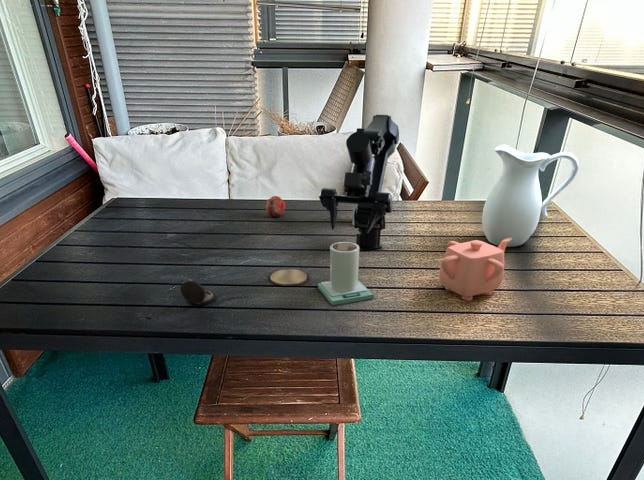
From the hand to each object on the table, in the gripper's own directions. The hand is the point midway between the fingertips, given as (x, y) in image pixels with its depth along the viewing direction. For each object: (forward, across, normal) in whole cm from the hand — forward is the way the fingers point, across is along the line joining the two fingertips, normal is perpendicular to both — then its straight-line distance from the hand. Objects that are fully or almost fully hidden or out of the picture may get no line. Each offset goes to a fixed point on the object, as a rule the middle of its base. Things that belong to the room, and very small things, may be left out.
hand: (349, 230), depth 125 cm
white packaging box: (-24, -7, +44) cm, 51 cm away
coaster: (+12, -16, +6) cm, 21 cm away
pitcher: (-20, +45, +40) cm, 63 cm away
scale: (+16, +1, +3) cm, 16 cm away
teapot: (+8, +32, +11) cm, 35 cm away
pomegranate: (-23, -40, +44) cm, 63 cm away
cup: (+14, +1, +2) cm, 14 cm away
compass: (+26, -33, -8) cm, 43 cm away
